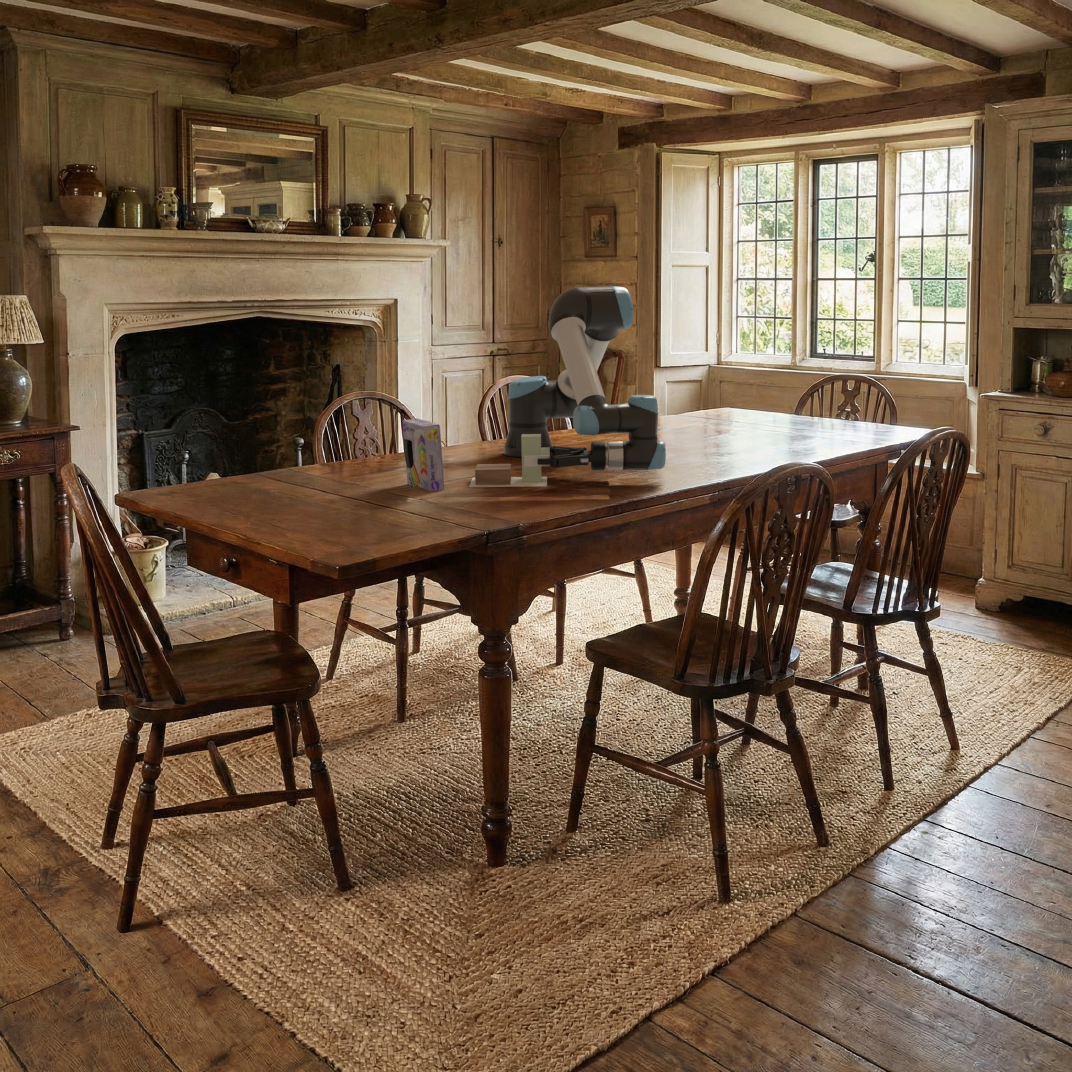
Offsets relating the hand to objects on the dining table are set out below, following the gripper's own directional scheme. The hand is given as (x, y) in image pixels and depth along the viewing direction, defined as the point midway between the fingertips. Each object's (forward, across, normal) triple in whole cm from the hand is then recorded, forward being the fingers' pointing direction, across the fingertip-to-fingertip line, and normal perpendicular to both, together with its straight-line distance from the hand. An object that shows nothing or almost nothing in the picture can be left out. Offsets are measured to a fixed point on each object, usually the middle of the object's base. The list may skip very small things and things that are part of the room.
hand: (524, 457), depth 304 cm
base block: (+8, -1, -6) cm, 10 cm away
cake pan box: (+26, -4, -8) cm, 28 cm away
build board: (+4, -1, -7) cm, 9 cm away
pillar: (-2, 0, -6) cm, 7 cm away
